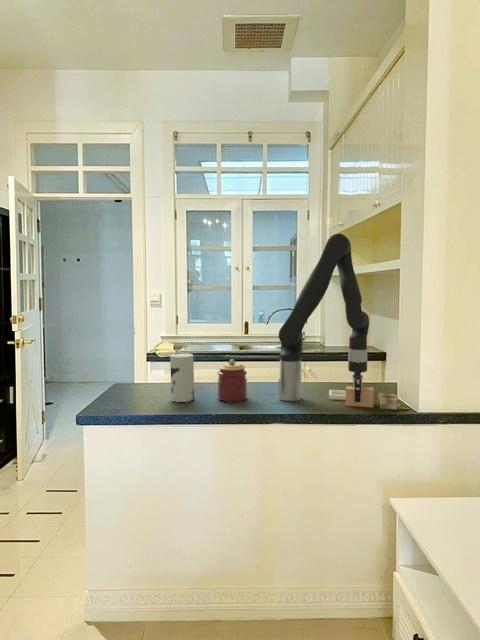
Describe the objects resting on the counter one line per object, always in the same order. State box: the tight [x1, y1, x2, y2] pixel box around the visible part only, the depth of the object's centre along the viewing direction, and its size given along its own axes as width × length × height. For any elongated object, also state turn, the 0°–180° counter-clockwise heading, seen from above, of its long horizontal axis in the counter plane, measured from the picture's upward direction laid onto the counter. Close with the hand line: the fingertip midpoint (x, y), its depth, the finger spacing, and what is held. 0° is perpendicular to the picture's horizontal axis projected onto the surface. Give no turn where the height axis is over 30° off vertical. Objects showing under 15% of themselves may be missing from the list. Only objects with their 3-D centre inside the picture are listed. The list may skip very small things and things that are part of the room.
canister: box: [217, 358, 248, 403], centre depth 189 cm, size 13×13×18 cm
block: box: [345, 385, 375, 408], centre depth 178 cm, size 11×5×7 cm, turn 74°
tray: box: [328, 389, 346, 401], centre depth 189 cm, size 15×9×2 cm, turn 76°
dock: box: [378, 393, 400, 410], centre depth 176 cm, size 7×8×4 cm
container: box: [169, 353, 195, 401], centre depth 188 cm, size 10×10×20 cm
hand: (357, 399), depth 178 cm, fingers closed on block, 5 cm apart
